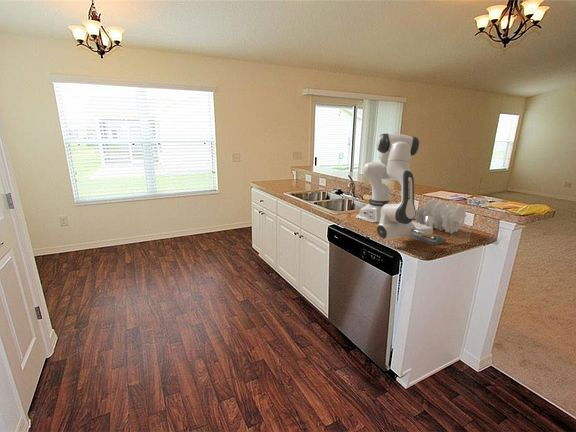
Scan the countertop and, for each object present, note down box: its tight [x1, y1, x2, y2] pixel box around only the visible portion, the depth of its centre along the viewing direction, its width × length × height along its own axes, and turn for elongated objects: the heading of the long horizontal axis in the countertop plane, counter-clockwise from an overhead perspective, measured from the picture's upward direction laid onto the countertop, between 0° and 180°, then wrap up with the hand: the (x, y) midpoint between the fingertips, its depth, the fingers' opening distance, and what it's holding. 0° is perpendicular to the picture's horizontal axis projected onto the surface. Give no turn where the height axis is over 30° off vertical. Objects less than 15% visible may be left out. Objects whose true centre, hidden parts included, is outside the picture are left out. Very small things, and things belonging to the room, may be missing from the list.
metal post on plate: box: [423, 216, 436, 239], centre depth 160 cm, size 11×5×11 cm, turn 24°
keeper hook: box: [433, 234, 443, 241], centre depth 156 cm, size 3×3×2 cm
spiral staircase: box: [414, 199, 467, 235], centre depth 177 cm, size 18×18×25 cm
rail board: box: [409, 233, 447, 246], centre depth 166 cm, size 25×10×2 cm, turn 24°
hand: (424, 224), depth 159 cm, fingers open, 8 cm apart
